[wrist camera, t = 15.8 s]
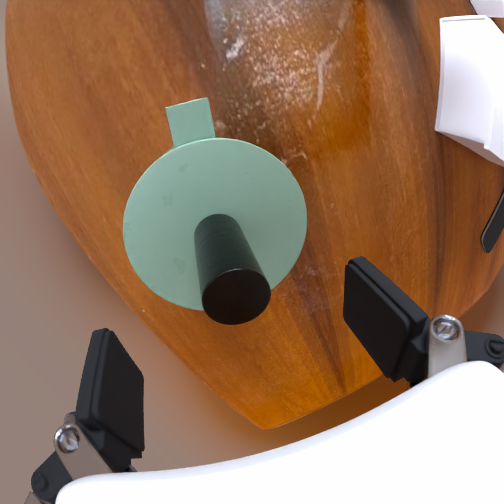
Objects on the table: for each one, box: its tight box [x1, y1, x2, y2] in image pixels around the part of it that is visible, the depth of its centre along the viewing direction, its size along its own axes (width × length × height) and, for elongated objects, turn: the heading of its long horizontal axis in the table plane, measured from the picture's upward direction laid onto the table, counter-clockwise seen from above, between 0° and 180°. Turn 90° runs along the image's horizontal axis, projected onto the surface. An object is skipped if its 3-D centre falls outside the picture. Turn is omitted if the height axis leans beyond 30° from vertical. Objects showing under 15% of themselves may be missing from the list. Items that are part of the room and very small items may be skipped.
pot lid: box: [123, 138, 307, 325], centre depth 14 cm, size 11×11×7 cm
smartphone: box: [481, 192, 504, 253], centre depth 37 cm, size 8×1×15 cm
